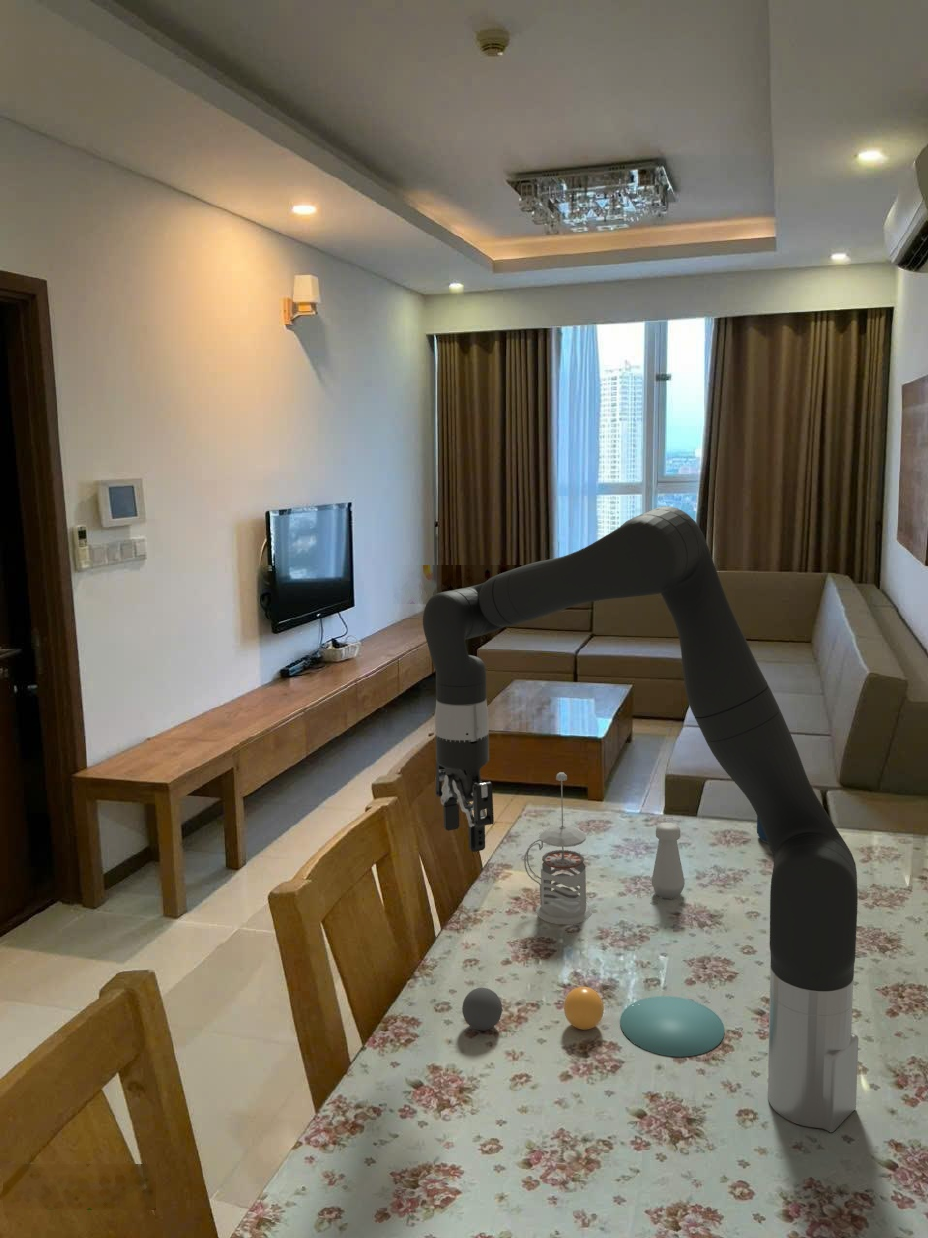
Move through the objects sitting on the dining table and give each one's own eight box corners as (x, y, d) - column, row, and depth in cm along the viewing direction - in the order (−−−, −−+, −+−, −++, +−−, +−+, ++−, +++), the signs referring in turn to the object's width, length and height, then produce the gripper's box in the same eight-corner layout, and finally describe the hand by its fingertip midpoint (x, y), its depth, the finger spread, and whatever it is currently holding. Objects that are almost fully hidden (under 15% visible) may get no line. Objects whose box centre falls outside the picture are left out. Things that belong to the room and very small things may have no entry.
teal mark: (744, 1025, 132) (744, 1023, 132) (685, 1070, 123) (685, 1069, 123) (659, 986, 142) (659, 985, 142) (599, 1026, 133) (599, 1025, 133)
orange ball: (612, 1026, 133) (611, 989, 132) (586, 1043, 129) (585, 1005, 128) (581, 1010, 137) (581, 974, 136) (555, 1026, 133) (555, 990, 132)
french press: (586, 927, 161) (584, 784, 157) (518, 919, 165) (515, 779, 161) (597, 901, 170) (595, 765, 166) (533, 894, 174) (530, 761, 170)
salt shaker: (661, 884, 176) (661, 816, 174) (690, 892, 173) (690, 823, 170) (645, 896, 172) (645, 826, 170) (675, 904, 168) (675, 833, 166)
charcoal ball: (510, 1027, 134) (509, 990, 133) (482, 1044, 130) (481, 1006, 129) (483, 1011, 138) (482, 975, 137) (454, 1027, 134) (453, 991, 133)
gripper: (417, 721, 140) (420, 827, 143) (459, 747, 127) (461, 863, 130) (464, 714, 143) (466, 818, 146) (509, 739, 130) (510, 852, 133)
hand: (464, 839), depth 138 cm, fingers open, 8 cm apart
